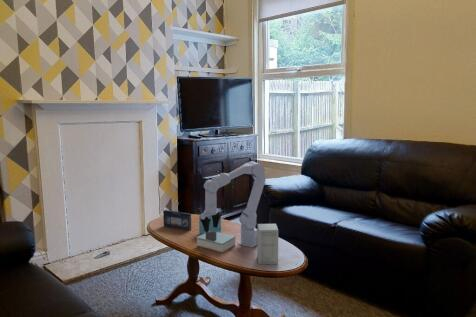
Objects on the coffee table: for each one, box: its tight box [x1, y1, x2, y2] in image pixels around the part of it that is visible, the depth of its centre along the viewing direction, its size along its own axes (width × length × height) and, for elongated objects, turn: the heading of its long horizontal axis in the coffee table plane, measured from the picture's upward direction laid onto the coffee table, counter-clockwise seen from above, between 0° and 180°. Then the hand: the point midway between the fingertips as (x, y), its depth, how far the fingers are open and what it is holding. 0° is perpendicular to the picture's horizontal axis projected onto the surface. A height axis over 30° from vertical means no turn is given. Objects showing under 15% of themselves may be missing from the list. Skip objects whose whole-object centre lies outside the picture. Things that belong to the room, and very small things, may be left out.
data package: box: [198, 212, 222, 235], centre depth 214 cm, size 12×4×12 cm, turn 63°
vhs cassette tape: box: [162, 209, 192, 232], centre depth 225 cm, size 18×3×10 cm, turn 64°
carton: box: [196, 238, 236, 254], centre depth 198 cm, size 16×12×4 cm
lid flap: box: [196, 231, 237, 245], centre depth 197 cm, size 16×12×5 cm
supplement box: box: [256, 223, 279, 265], centre depth 180 cm, size 10×9×17 cm
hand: (211, 229), depth 193 cm, fingers open, 7 cm apart
